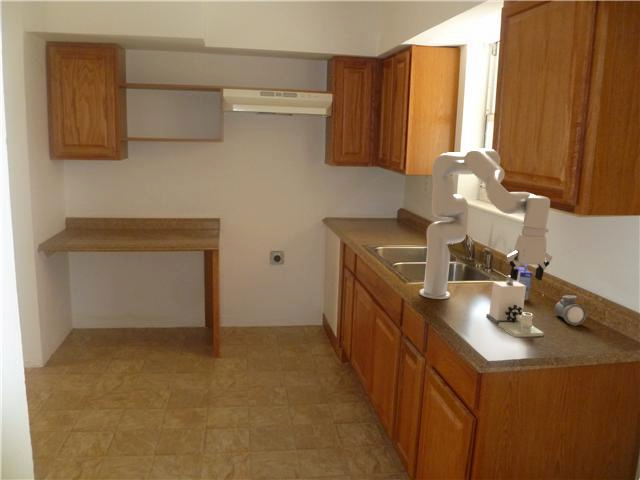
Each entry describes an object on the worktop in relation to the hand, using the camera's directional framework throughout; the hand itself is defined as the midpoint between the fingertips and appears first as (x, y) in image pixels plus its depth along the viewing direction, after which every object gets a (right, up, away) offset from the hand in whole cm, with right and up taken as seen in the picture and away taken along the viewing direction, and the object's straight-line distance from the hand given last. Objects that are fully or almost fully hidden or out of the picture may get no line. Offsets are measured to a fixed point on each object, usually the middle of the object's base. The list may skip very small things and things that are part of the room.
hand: (526, 279), depth 196 cm
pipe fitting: (+22, -17, +18) cm, 33 cm away
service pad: (-1, -19, +3) cm, 19 cm away
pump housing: (-3, -16, +13) cm, 21 cm away
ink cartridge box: (+13, -11, +45) cm, 48 cm away
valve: (-1, -18, +3) cm, 18 cm away
